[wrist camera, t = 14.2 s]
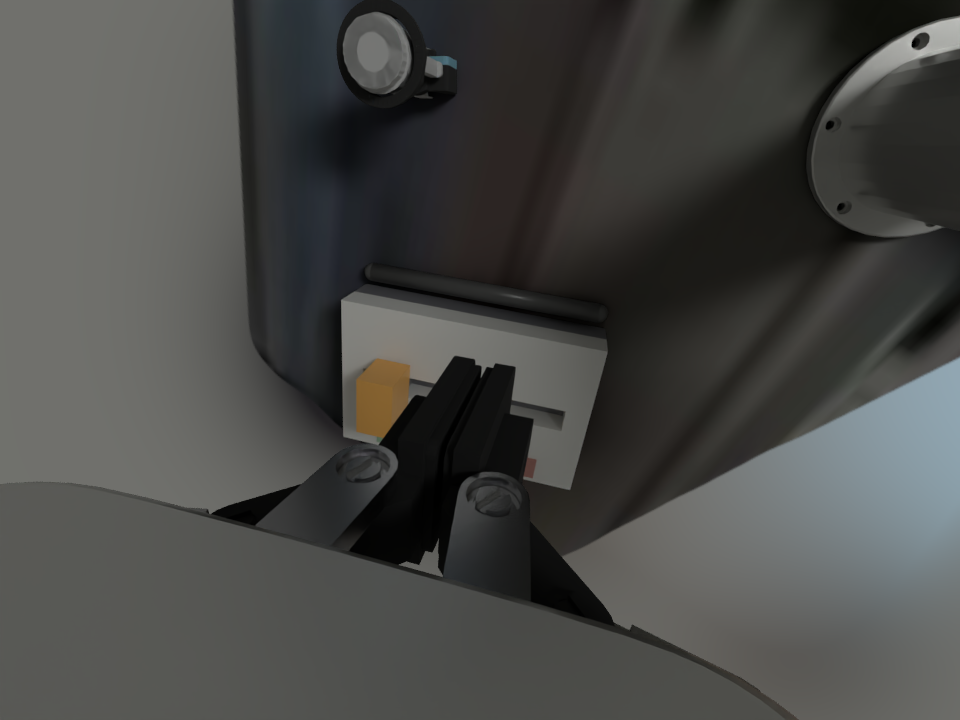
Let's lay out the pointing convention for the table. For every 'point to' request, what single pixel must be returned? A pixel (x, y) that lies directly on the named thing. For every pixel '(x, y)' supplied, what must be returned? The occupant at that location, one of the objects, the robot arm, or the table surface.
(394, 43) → the push button
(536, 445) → the switch panel
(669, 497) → the table surface
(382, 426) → the lever
